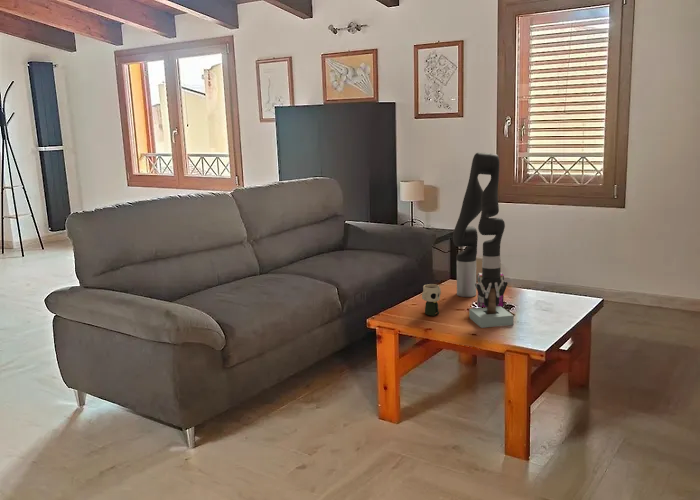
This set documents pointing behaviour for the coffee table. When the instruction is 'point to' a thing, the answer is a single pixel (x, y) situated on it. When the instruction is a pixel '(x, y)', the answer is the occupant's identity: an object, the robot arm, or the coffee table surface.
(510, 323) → the socket
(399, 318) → the coffee table surface
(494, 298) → the peg
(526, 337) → the coffee table surface
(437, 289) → the character mug
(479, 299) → the candy bar box
